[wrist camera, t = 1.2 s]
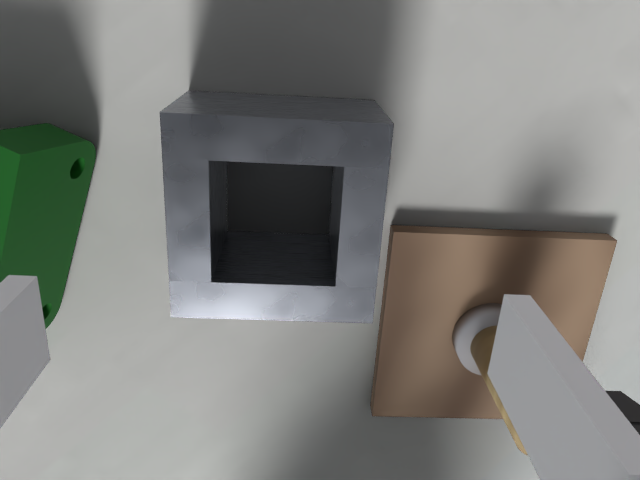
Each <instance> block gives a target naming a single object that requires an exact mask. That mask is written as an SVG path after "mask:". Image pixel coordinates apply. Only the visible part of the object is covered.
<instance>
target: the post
mask: <svg viewBox="0 0 640 480" xmlns="http://www.w3.org/2000/svg"><path fill="white" fill-rule="evenodd" d="M616 243H617V240H615V239H614V238H613V237H611V236H610V235H609V234H603V233H578V232H553V231H527V230H502V229H477V228H452V227H427V226H402V225H391V227H390V236H389V245H388V254H387V263H386V271H385V280H384V289H383V298H382V307H381V316H380V324H379V333H378V342H377V351H376V360H375V369H374V377H373V386H372V395H371V404H370V406H371V412H372V416H388V417H436V418H484V419H504V421H505V423H506V425H507V427H508V429H509V431H510V433H511V435H512V437H513V439H514V441H515V443H516V445H517V447H518V449H519V450H520V451H521V452H523V453H524V454H526V455H528V454H527V452H526V450H525V448H524V446H523V444H522V442H521V440H520V438H519V436H518V434H517V432H516V430H515V428H514V426H513V424H512V422H511V420H510V418H509V416H508V414H507V412H506V410H505V408H504V406H503V404H502V402H501V400H500V398H499V396H498V394H497V392H496V390H495V388H494V386H493V384H492V382H491V380H490V378H489V376H488V374H487V373H488V369H489V364H490V359H491V354H492V349H493V345H494V340H495V335H496V330H497V326H498V321H499V316H500V311H501V307H502V302H503V297H504V294H511V295H530V296H531V297H532V298H533V299H534V301H535V302H536V303H537V304H538V306H539V307H540V308H541V310H542V311H543V312H544V313H545V315H546V316H547V317H548V319H549V320H550V321H551V322H552V324H553V325H554V326H555V327H556V329H557V330H558V331H559V333H560V334H561V335H562V336H563V338H564V339H565V340H566V342H567V343H568V344H569V345H570V347H571V348H572V349H573V350H574V352H575V353H576V354H577V356H578V357H579V358H580V359H581V361H582V362H583V358H584V355H585V351H586V348H587V344H588V341H589V338H590V334H591V331H592V327H593V324H594V320H595V317H596V313H597V310H598V306H599V303H600V299H601V296H602V292H603V289H604V285H605V282H606V278H607V275H608V271H609V268H610V264H611V261H612V257H613V254H614V250H615V247H616Z"/></svg>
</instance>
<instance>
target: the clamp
mask: <svg viewBox="0 0 640 480" xmlns="http://www.w3.org/2000/svg"><path fill="white" fill-rule="evenodd" d="M95 159H96V150H95V147H94V145H93V144H92V143H91V142H90V141H87V140H85V139H83V138H81V137H78V136H76V135H74V134H72V133H69V132H67V131H65V130H63V129H60V128H58V127H56V126H54V125H52V124H49V123H43V124H37V125H30V126H23V127H17V128H10V129H4V130H0V282H2V281H3V280H4V279H5V278H6V277H7V276H8V275H21V276H37V278H38V285H39V291H40V297H41V304H42V310H43V316H44V323H45V329H46V328H47V327H48V326H49V325H50V324H51V322H52V321H53V319H54V318H55V316H56V314H57V312H58V310H59V308H60V305H61V302H62V297H63V293H64V289H65V285H66V281H67V277H68V272H69V268H70V264H71V260H72V256H73V252H74V248H75V243H76V239H77V235H78V231H79V227H80V223H81V218H82V214H83V210H84V206H85V202H86V198H87V193H88V189H89V185H90V181H91V177H92V173H93V168H94V164H95Z"/></svg>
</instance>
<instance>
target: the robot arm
mask: <svg viewBox="0 0 640 480" xmlns="http://www.w3.org/2000/svg"><path fill="white" fill-rule="evenodd" d="M49 361H50V354H49V348H48V342H47V335H46V329H45V323H44V316H43V310H42V304H41V297H40V291H39V285H38V278H37V276H21V275H8V276H7V277H6V278H5V279H4V280H3V281H2V282H0V428H1V427H2V426H3V424H4V423H5V421H6V420H7V419H8V417H9V416H10V414H11V413H12V412H13V410H14V409H15V408H16V406H17V405H18V403H19V402H20V401H21V399H22V398H23V397H24V395H25V394H26V392H27V391H28V390H29V388H30V387H31V386H32V384H33V383H34V381H35V380H36V379H37V377H38V376H39V375H40V373H41V372H42V370H43V369H44V368H45V366H46V365H47V364H48V362H49ZM487 374H488V376H489V378H490V380H491V382H492V384H493V386H494V388H495V390H496V392H497V394H498V396H499V398H500V400H501V402H502V404H503V406H504V408H505V410H506V412H507V414H508V416H509V418H510V420H511V422H512V424H513V426H514V428H515V430H516V432H517V434H518V436H519V438H520V440H521V442H522V444H523V446H524V448H525V450H526V452H527V454H528V456H529V458H530V460H531V462H532V464H533V466H534V468H535V470H536V472H537V474H538V476H539V478H540V480H640V405H639V404H638V403H636V402H635V401H633V400H632V399H631V398H629V397H628V396H626V395H625V394H624V393H622V392H621V391H605V390H604V389H603V388H602V386H601V385H600V384H599V382H598V381H597V380H596V379H595V377H594V376H593V375H592V373H591V372H590V371H589V370H588V368H587V367H586V366H585V365H584V363H583V362H582V361H581V359H580V358H579V357H578V356H577V354H576V353H575V352H574V350H573V349H572V348H571V347H570V345H569V344H568V343H567V342H566V340H565V339H564V338H563V336H562V335H561V334H560V333H559V331H558V330H557V329H556V327H555V326H554V325H553V324H552V322H551V321H550V320H549V319H548V317H547V316H546V315H545V313H544V312H543V311H542V310H541V308H540V307H539V306H538V304H537V303H536V302H535V301H534V299H533V298H532V297H531V296H530V295H511V294H504V297H503V302H502V307H501V311H500V316H499V321H498V326H497V330H496V335H495V340H494V345H493V349H492V354H491V359H490V364H489V369H488V373H487Z"/></svg>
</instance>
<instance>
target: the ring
mask: <svg viewBox="0 0 640 480" xmlns="http://www.w3.org/2000/svg"><path fill="white" fill-rule="evenodd" d="M160 126H161V144H162V162H163V180H164V198H165V216H166V235H167V253H168V271H169V289H170V307H171V317H182V318H215V319H248V320H282V321H315V322H348V323H373V313H374V304H375V295H376V286H377V276H378V267H379V258H380V248H381V239H382V230H383V220H384V211H385V202H386V193H387V183H388V174H389V165H390V155H391V146H392V137H393V128H394V123H393V122H392V121H391V120H390V119H389V117H388V116H387V115H386V114H385V112H384V111H383V110H382V109H381V108H380V106H379V105H378V104H377V103H376V102H375V100H361V99H342V98H323V97H304V96H285V95H266V94H246V93H227V92H208V91H187V92H186V93H185V94H183V95H182V96H181V97H179V98H178V99H177V100H175V101H174V102H173V103H171V104H170V105H169V106H167V107H166V108H165V109H163V110H162V111H161V112H160ZM227 161H230V162H252V163H274V164H296V165H318V166H333V177H332V192H331V207H330V222H329V235H324V234H298V233H272V232H246V231H228V214H227Z"/></svg>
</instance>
